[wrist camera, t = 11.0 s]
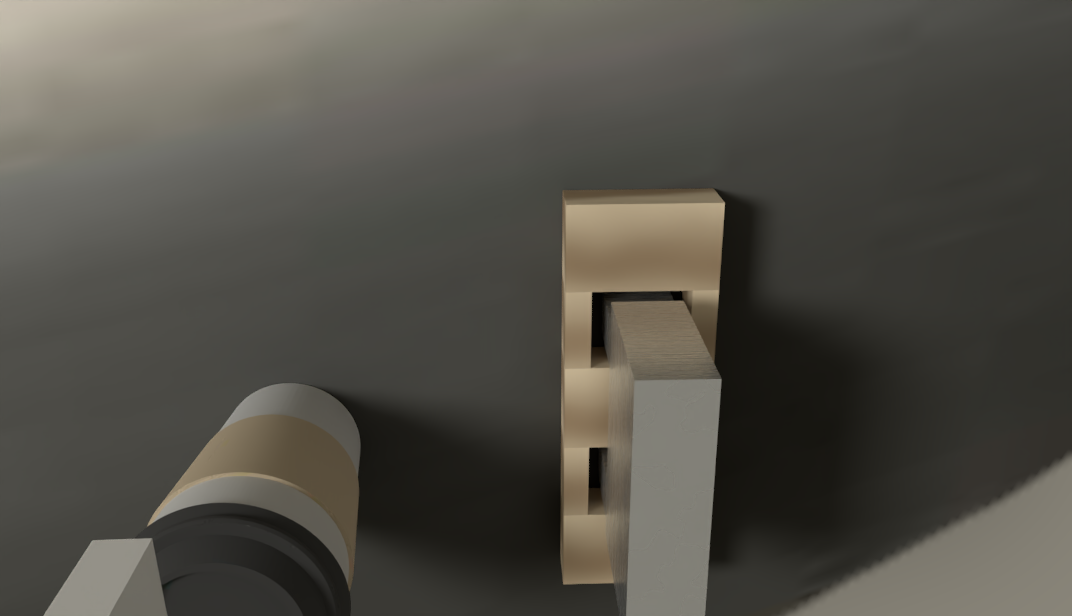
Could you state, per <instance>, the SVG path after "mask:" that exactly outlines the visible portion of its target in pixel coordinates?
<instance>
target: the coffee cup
mask: <svg viewBox="0 0 1072 616" xmlns="http://www.w3.org/2000/svg"><path fill="white" fill-rule="evenodd" d="M360 449H361V444H360V435H359V431H358V428H357V425H356V423H355V421H354V419H353V417H352V416H351V414H350V413H349V411H348V410H347V409H346V408H345V407H344V405H343V404H342V403H340V402H339V401H338V400H337V399H336V398H334V397H333V396H331V395H330V394H328V393H326V392H325V391H323V390H320V389H318V388H315V387H312V386H309V385H304V384H297V383H282V384H275V385H271V386H268V387H265V388H262V389H260V390H258V391H256V392H254V393H252V394H251V395H249V396H248V397H247V398H246V399H244V400H243V401H242V402H241V403H240V404H239V406H238V407H237V408H236V409H235V411H234V412H233V414H232V415H231V416H230V418H229V419H228V420H227V422H226V423H225V424H224V426H223V427H222V429H221V430H220V431H219V433H217V434H216V435H215V436H214V437H213V438H212V439H211V440H210V441H209V442H208V444H207V445H206V446H205V448H204V449H203V450H202V452H201V453H200V454H199V455H198V457H197V458H196V459H195V461H194V462H193V463H192V465H191V466H190V467H189V468H188V470H187V471H186V472H185V474H184V475H183V476H182V478H181V479H180V480H179V481H178V483H177V484H176V485H175V487H174V488H173V489H172V491H171V492H170V493H169V495H168V496H167V497H166V498H165V500H164V501H163V502H162V504H161V505H160V506H159V508H158V509H157V510H156V512H155V513H154V515H153V516H152V518H151V520H150V522H149V524H148V526H147V527H146V528H145V529H144V530H143V531H142V532H141V533H139V534H138V535H137V537H136V538H135V539H143V538H152V540H153V545H154V550H155V555H156V560H157V565H158V571H159V576H160V581H161V586H162V591H163V596H164V601H165V606H166V611H167V616H350V612H351V600H350V592H349V590H350V587H351V584H352V579H353V572H354V558H355V543H356V529H357V515H358V501H359V482H358V471H359V460H360Z"/></svg>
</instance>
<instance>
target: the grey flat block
mask: <svg viewBox="0 0 1072 616" xmlns="http://www.w3.org/2000/svg"><path fill="white" fill-rule="evenodd" d="M601 333H602V337H603V341H604V345H605V349H606V353H607V357H608V361H609V365H610V373H609V412H608V447H599V448H598V478H599V483H600V489H601V494H602V500H603V505H604V511H605V516H606V527H605V535H606V540H607V546H608V552H609V558H610V563H611V569H612V575H613V580H614V586H615V592H616V597H617V603H618V609H619V614H620V616H705V606H706V592H707V578H708V564H709V550H710V536H711V521H712V507H713V493H714V479H715V465H716V451H717V437H718V423H719V409H720V395H721V380H722V379H721V377H720V375H719V373H718V370H717V368H716V366H715V364H714V362H713V360H712V358H711V356H710V354H709V352H708V350H707V348H706V346H705V344H704V342H703V339H702V337H701V335H700V333H699V331H698V329H697V327H696V325H695V323H694V321H693V319H692V317H691V315H690V313H689V310H688V308H687V306H686V304H685V302H684V301H674V299H673V297H672V295H671V293H670V291H637V292H602V313H601Z"/></svg>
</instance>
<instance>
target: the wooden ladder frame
mask: <svg viewBox="0 0 1072 616" xmlns="http://www.w3.org/2000/svg"><path fill="white" fill-rule="evenodd" d="M724 210H725V202H724V201H723V200H722V198H721V197H720V196H719V195H718V193H717V192H716V191H715V190H714V188H707V189H629V190H563V225H562V374H561V523H560V557H561V567H562V577H563V584H595V583H614V580H613V575H612V569H611V563H610V558H609V552H608V546H607V540H606V535H605V527H606V516H605V511H604V505H603V500H602V494H601V489H600V488H588V484H589V448H594V447H608V412H609V373H610V365H609V361H608V357H607V353H606V349H605V347H591V320H592V292H637V291H682V301H684V302H685V304H686V306H687V308H688V310H689V313H690V315H691V317H692V319H693V321H694V323H695V325H696V327H697V329H698V331H699V333H700V335H701V337H702V339H703V342H704V344H705V346H706V348H707V350H708V352H709V354H710V356H711V358H712V360H713V362H714V359H715V344H716V329H717V314H718V299H719V284H720V270H721V255H722V240H723V225H724Z"/></svg>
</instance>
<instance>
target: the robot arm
mask: <svg viewBox="0 0 1072 616" xmlns="http://www.w3.org/2000/svg"><path fill="white" fill-rule="evenodd" d="M44 616H167V611H166V606H165V601H164V596H163V591H162V586H161V581H160V576H159V571H158V565H157V560H156V555H155V550H154V545H153V540H152V538H143V539H117V540H92V542H91V543H90V545H89V547H88V548H87V550H86V551H85V553H84V554H83V556H82V557H81V559H80V560H79V562H78V563H77V565H76V567H75V568H74V570H73V571H72V573H71V574H70V576H69V577H68V579H67V580H66V582H65V583H64V585H63V587H62V588H61V590H60V591H59V593H58V594H57V596H56V597H55V599H54V600H53V602H52V603H51V605H50V607H49V608H48V610H47V611H46V613H45V614H44Z"/></svg>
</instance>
